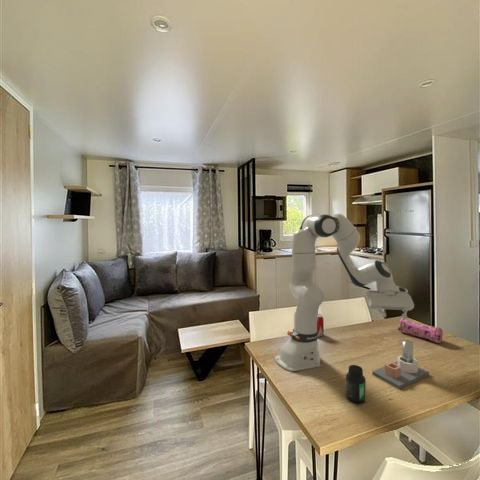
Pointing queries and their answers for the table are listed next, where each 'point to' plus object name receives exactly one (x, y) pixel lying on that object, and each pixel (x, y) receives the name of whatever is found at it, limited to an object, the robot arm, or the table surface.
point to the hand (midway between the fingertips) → (394, 317)
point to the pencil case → (421, 330)
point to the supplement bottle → (355, 385)
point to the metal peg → (407, 351)
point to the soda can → (320, 325)
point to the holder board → (400, 373)
